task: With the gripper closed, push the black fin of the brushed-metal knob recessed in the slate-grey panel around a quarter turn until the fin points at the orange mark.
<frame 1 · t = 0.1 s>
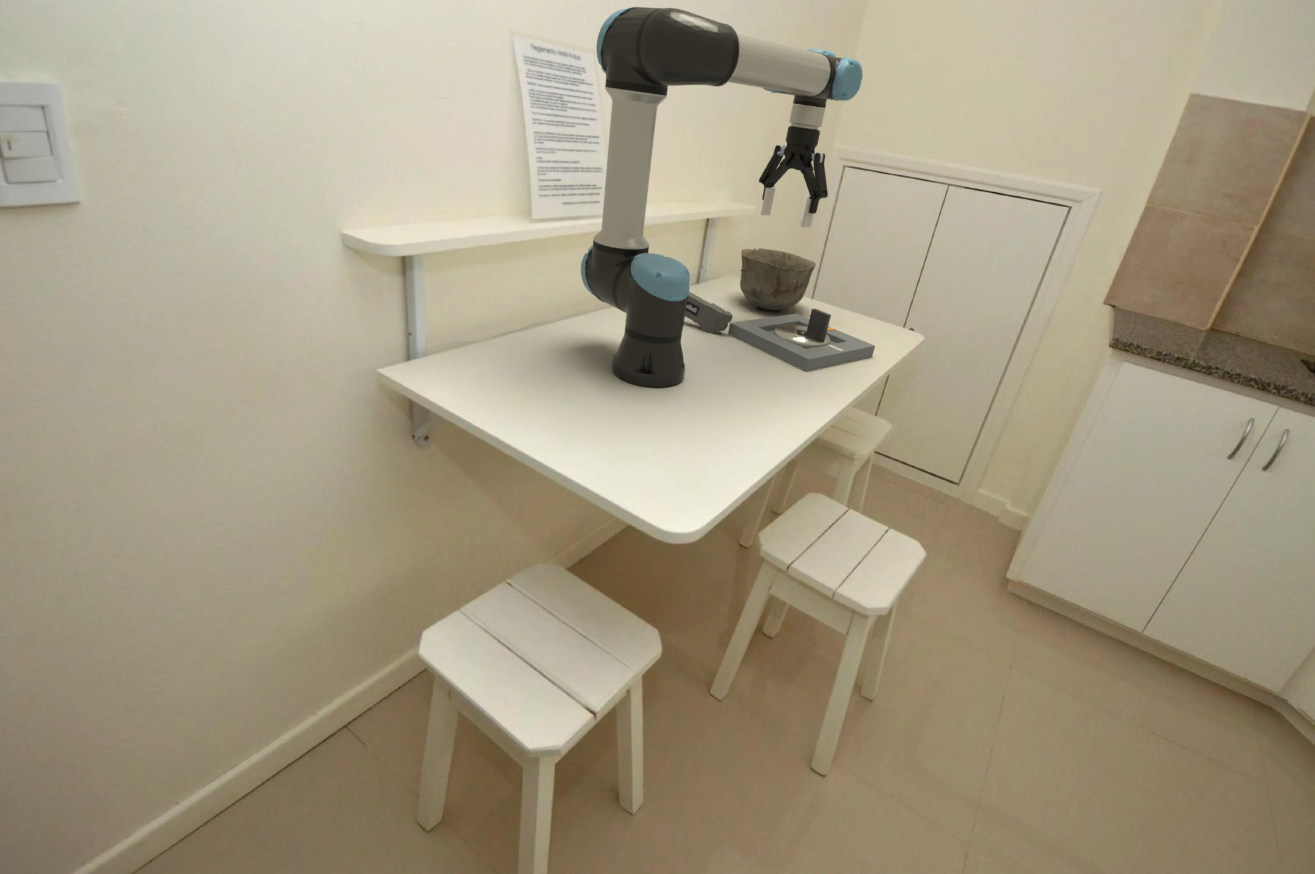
hand: (785, 221, 163), 28 cm above the table, fingers open, 13 cm apart
bowl: (767, 308, 195), on the table
dial: (804, 323, 164), point 6 cm above the table, hinge at 0.0°
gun: (680, 323, 171), on the table
panel: (799, 345, 167), on the table
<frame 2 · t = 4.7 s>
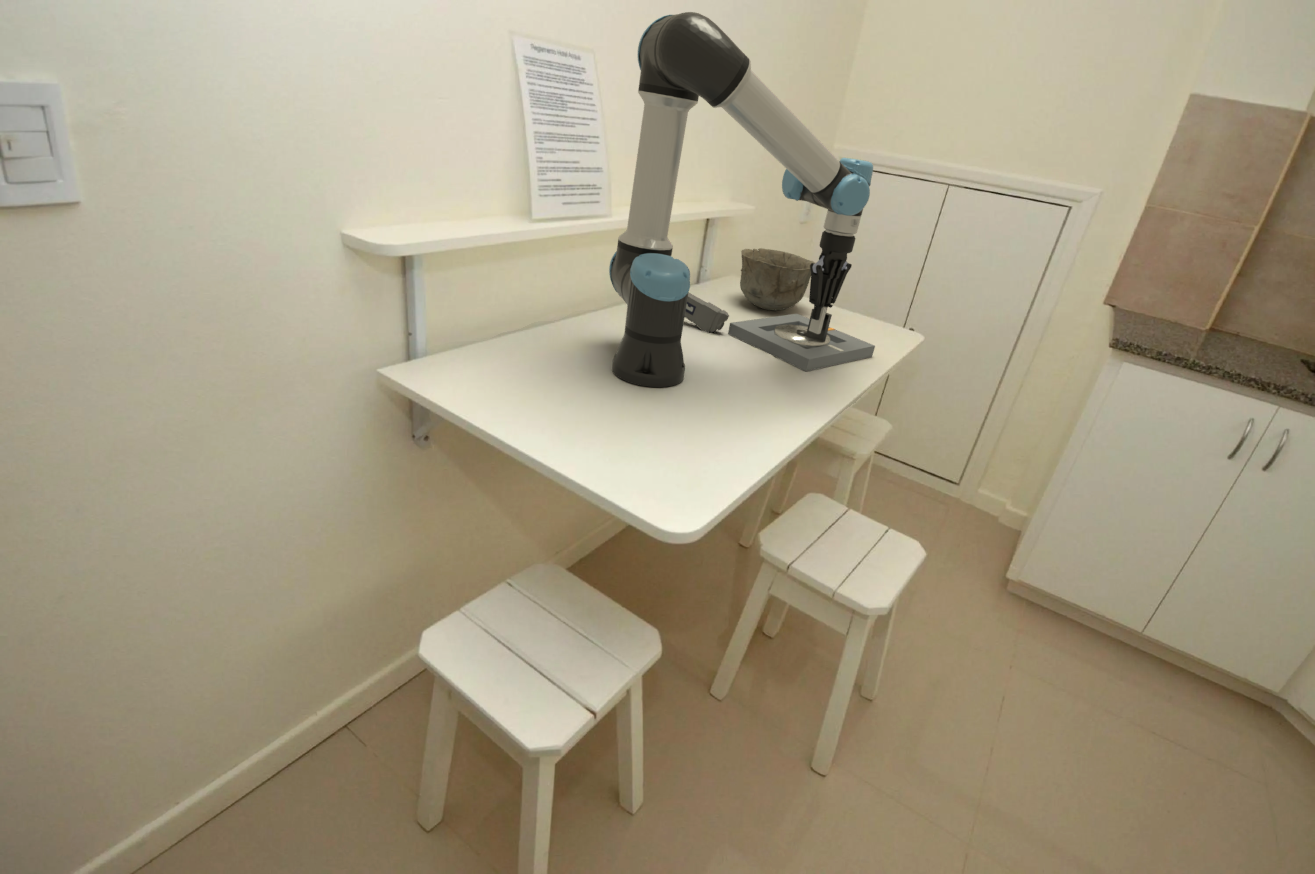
hand: (814, 332, 159), 6 cm above the table, fingers closed
dial: (804, 323, 164), point 6 cm above the table, hinge at 3.2°, touching gripper
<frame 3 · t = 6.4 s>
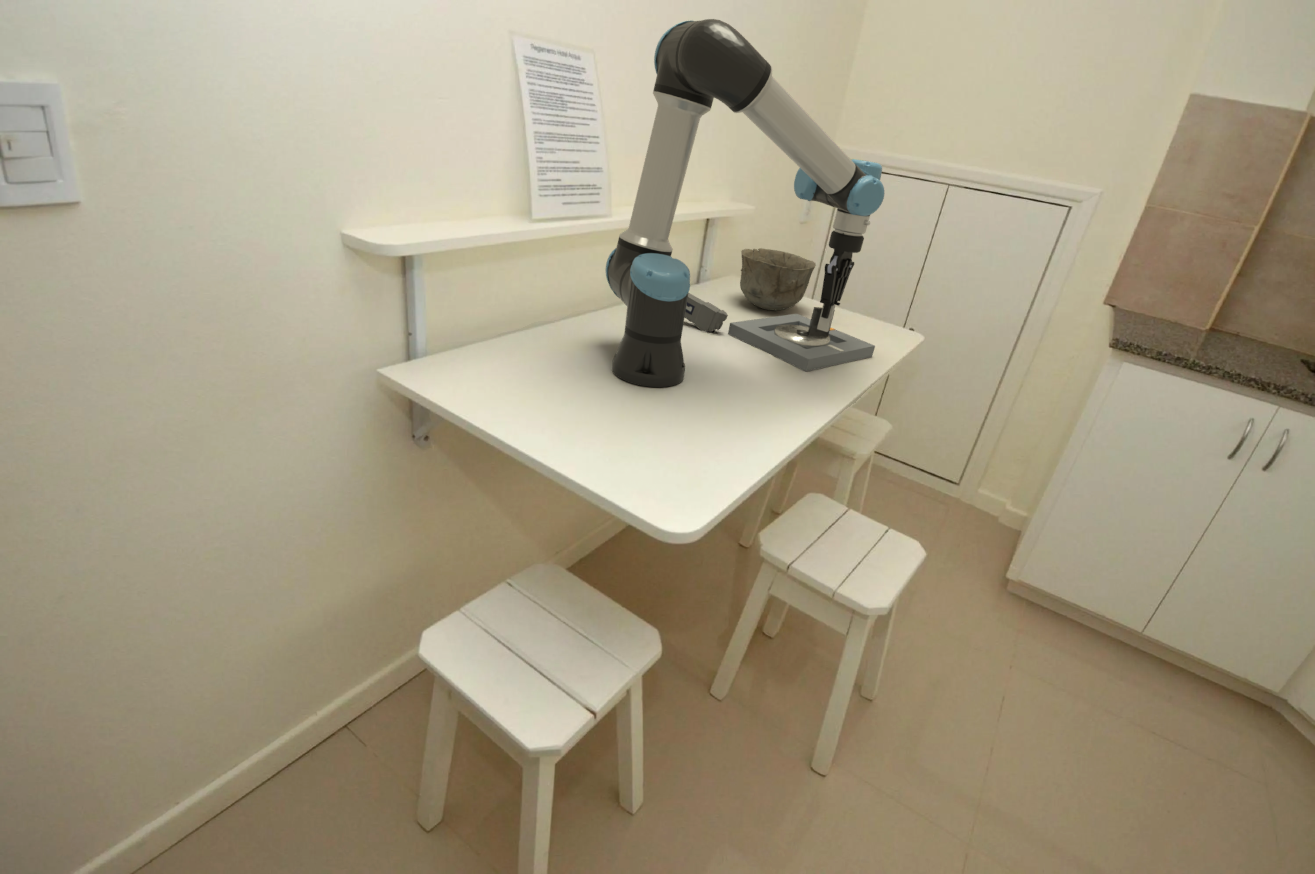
hand: (822, 330, 162), 5 cm above the table, fingers closed
dial: (804, 323, 164), point 6 cm above the table, hinge at 55.8°, touching gripper
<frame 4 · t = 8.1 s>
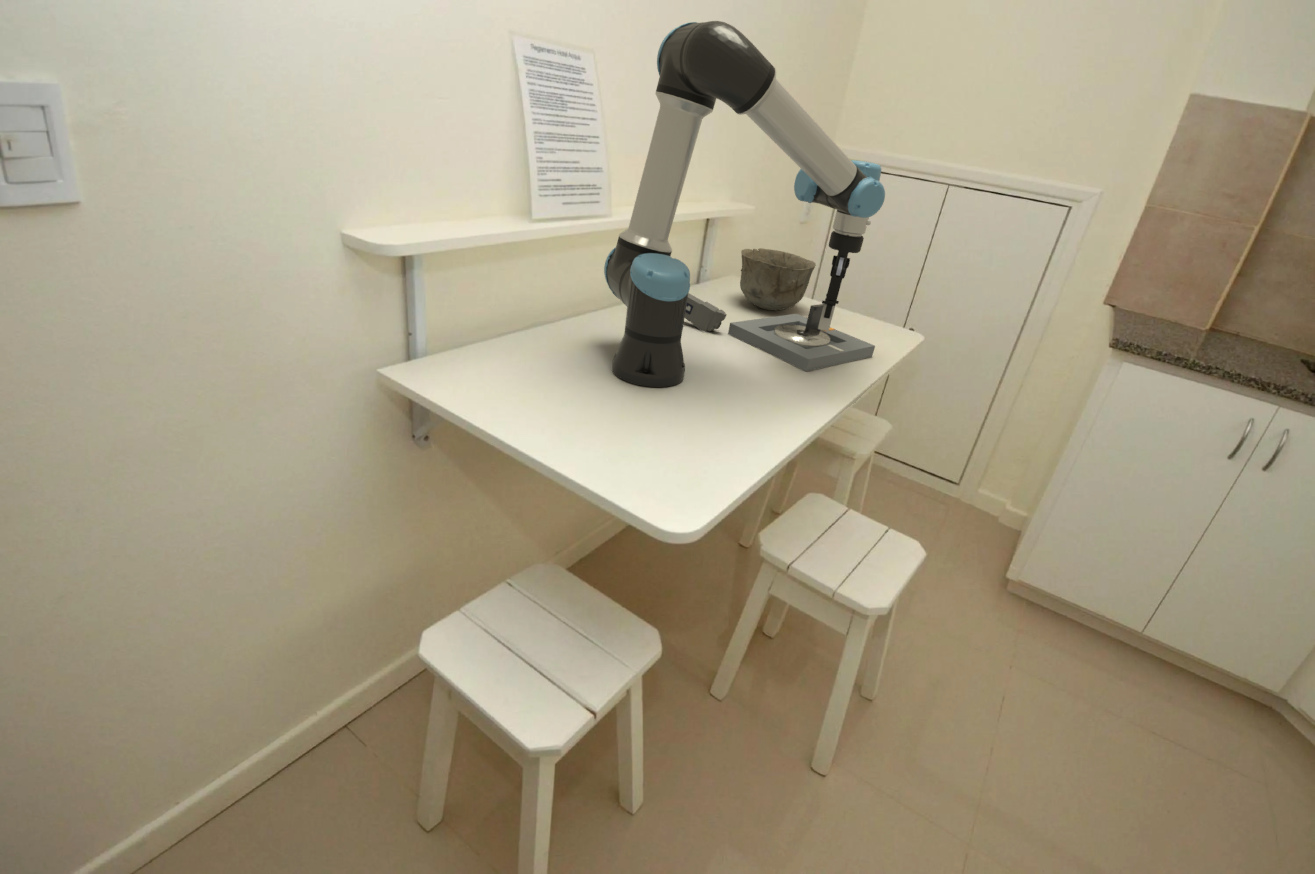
hand: (823, 329, 164), 5 cm above the table, fingers closed
dial: (804, 323, 164), point 6 cm above the table, hinge at 91.0°
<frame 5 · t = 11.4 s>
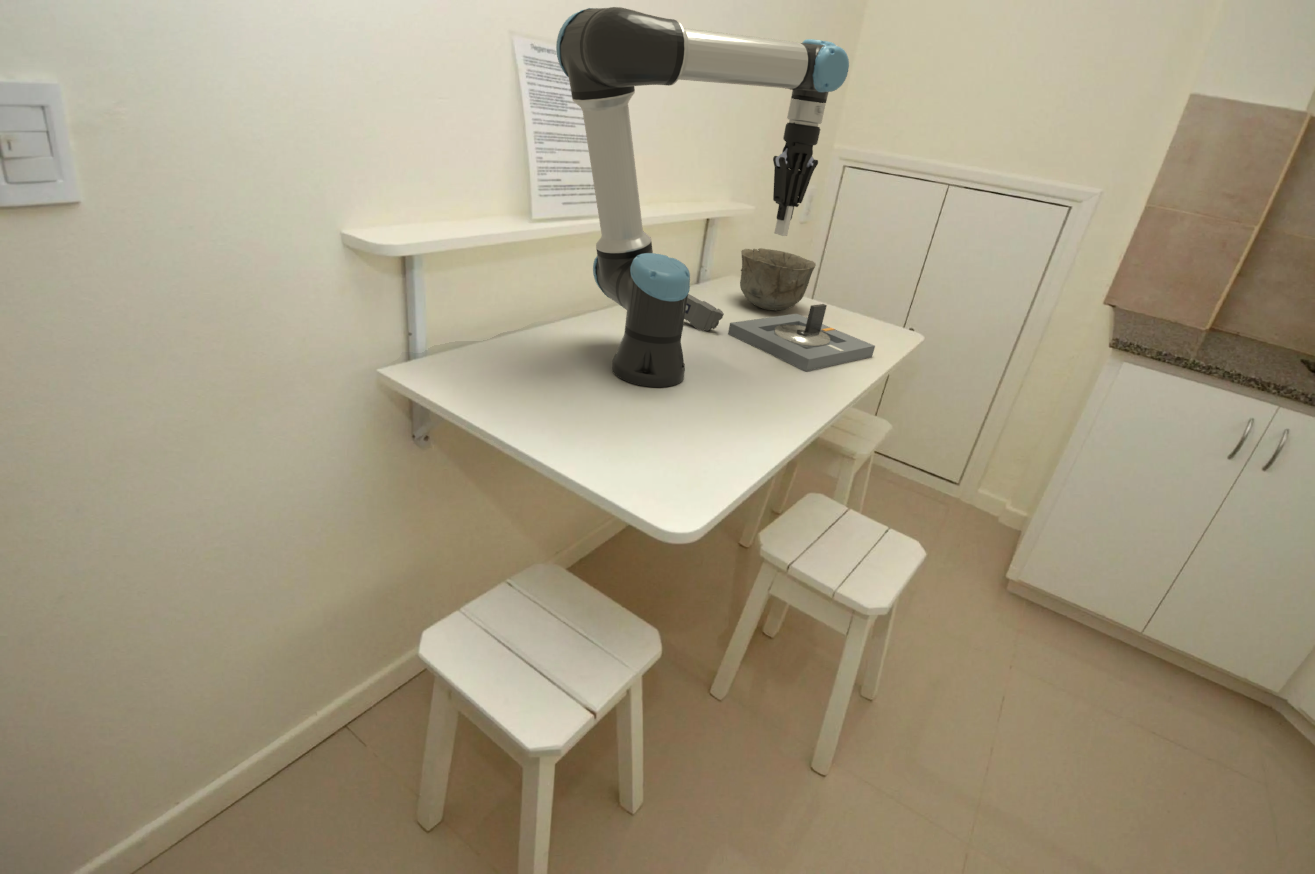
hand: (780, 234, 153), 26 cm above the table, fingers closed
at the end: dial at +91° (first picture: +0°) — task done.
